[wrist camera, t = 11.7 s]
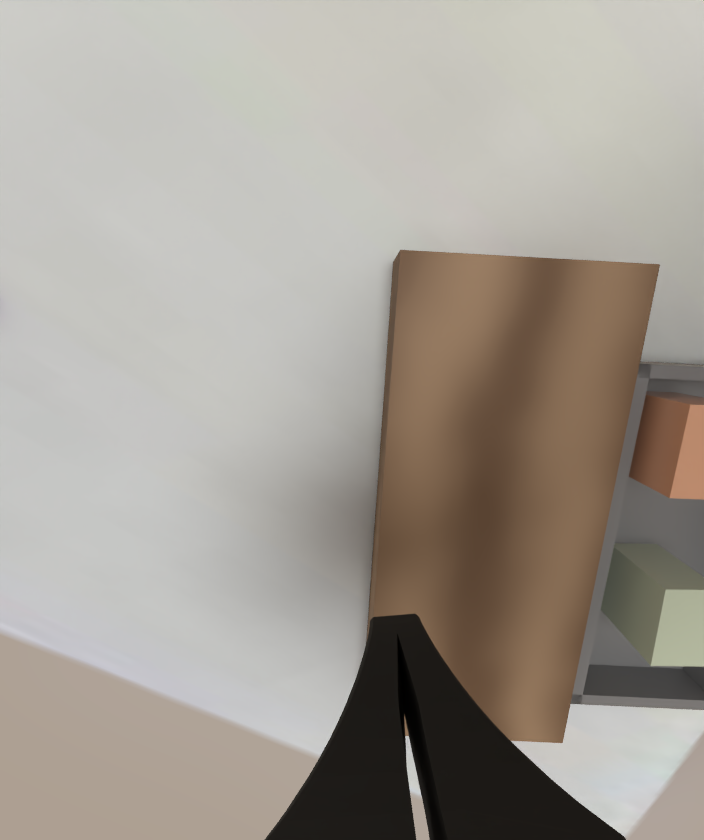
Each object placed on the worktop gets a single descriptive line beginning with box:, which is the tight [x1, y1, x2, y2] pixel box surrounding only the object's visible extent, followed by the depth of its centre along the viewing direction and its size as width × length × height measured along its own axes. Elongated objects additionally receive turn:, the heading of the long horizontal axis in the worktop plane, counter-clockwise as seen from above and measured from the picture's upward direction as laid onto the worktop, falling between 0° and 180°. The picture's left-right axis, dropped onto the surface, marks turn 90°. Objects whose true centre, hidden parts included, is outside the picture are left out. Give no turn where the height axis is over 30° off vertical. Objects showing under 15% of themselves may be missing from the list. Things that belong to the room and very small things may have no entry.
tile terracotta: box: [629, 391, 704, 500], centre depth 19 cm, size 4×4×2 cm
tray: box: [570, 361, 704, 710], centre depth 21 cm, size 8×18×2 cm, turn 177°
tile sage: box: [601, 543, 704, 667], centre depth 20 cm, size 4×4×2 cm
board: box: [366, 250, 660, 743], centre depth 20 cm, size 10×24×3 cm, turn 177°
